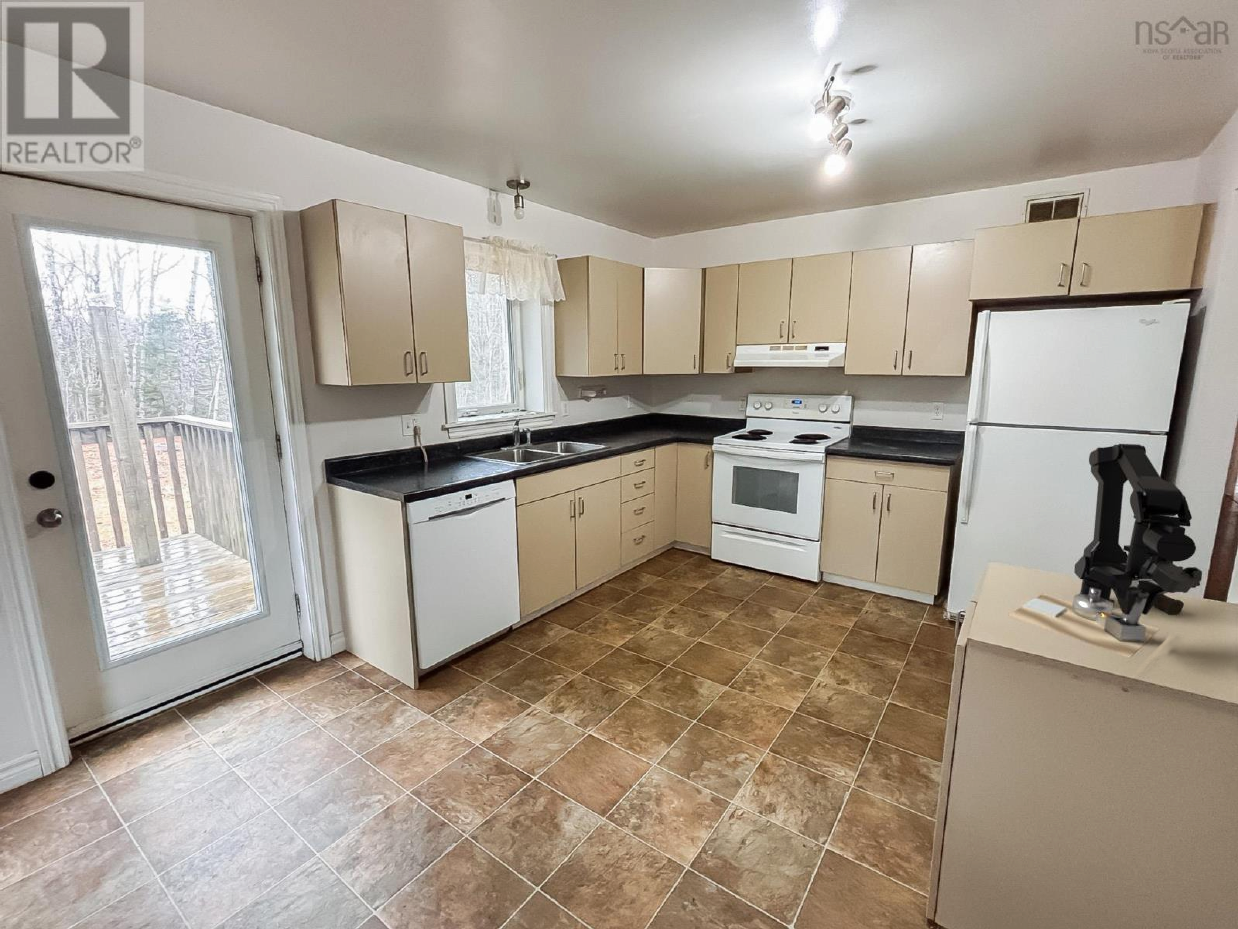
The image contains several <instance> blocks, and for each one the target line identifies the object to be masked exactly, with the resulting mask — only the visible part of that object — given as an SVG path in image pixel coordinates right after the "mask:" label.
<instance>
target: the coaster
mask: <svg viewBox="0 0 1238 929" xmlns="http://www.w3.org/2000/svg"><path fill="white" fill-rule="evenodd" d="M1023 606H1024V607H1025V608H1028V609H1031V610H1034V611H1037V612H1040V613H1043V614H1047V615H1050V616H1053V617H1056V616H1058V615H1059V614H1060V613H1062V612H1063V611H1065V610H1066V607H1063V606H1060V605H1056V604H1053V603H1050V602H1047V601H1043V600H1040V599H1037V597H1034V598H1033V599H1031V600H1029V601H1028V602H1026V603H1024V604H1023Z"/></svg>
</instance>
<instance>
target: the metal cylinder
mask: <svg viewBox="0 0 1238 929" xmlns="http://www.w3.org/2000/svg"><path fill="white" fill-rule="evenodd" d="M1138 588H1140V587H1138ZM1140 589H1142V590H1143V591H1141V592H1139V593H1137V594H1135V597H1134V601H1133V604H1132V608H1131V611H1130V613H1129V615H1126V614H1124V613H1123V612H1122V611H1121V612H1122V613H1121V615H1120V617H1121V618H1120V620H1119V623H1121V624H1122V625H1132V626H1137V624H1138V623H1139V620H1140V618H1141V615H1143V614H1142V611H1143V609H1144V606H1145V604H1146V601H1147V599H1148V596H1149V594H1150V591H1148V590H1146V589H1144V588H1140Z"/></svg>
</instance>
